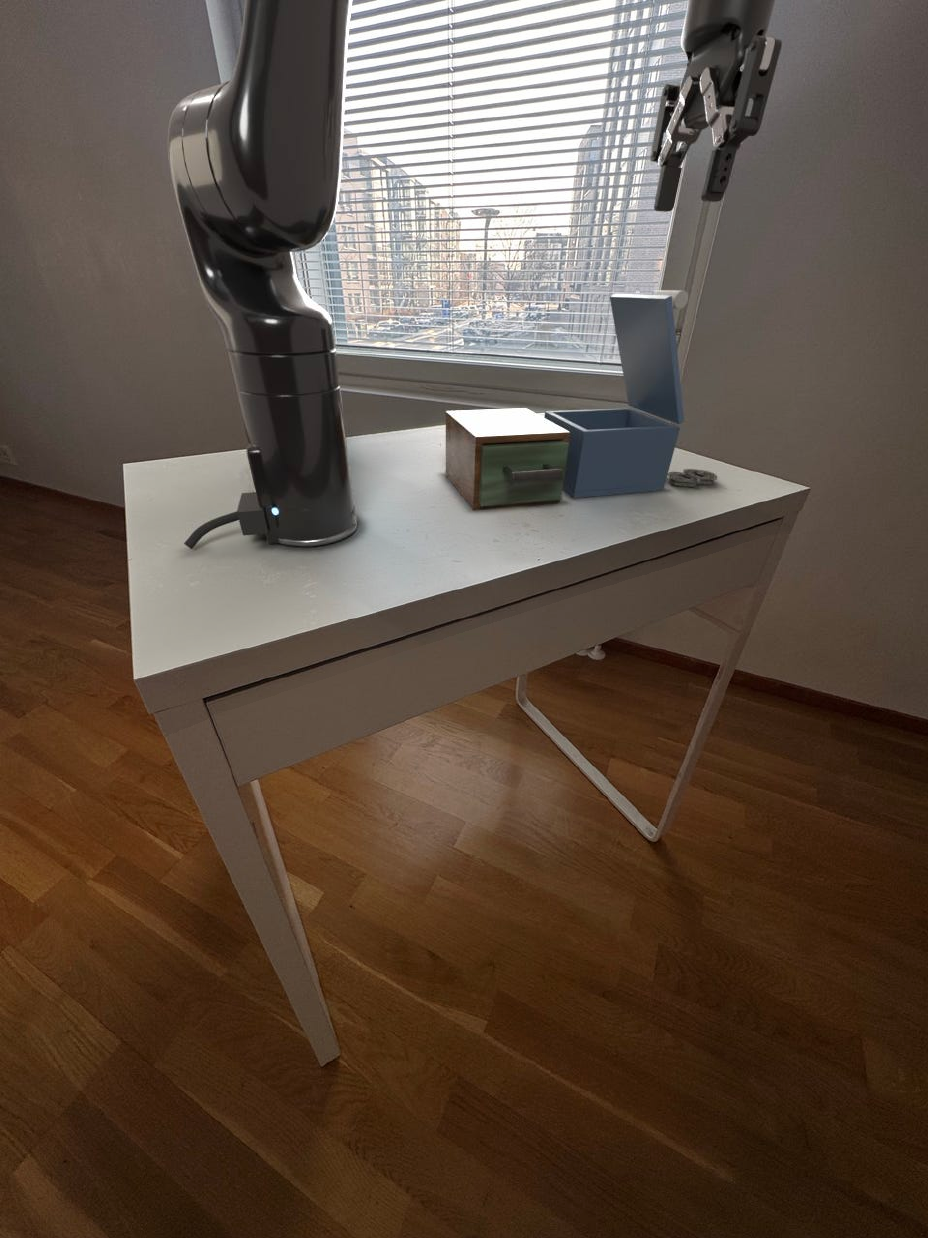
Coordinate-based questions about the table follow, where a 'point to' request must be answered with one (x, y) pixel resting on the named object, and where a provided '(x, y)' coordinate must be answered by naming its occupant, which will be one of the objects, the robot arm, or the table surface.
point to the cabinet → (490, 427)
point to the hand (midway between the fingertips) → (685, 206)
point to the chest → (615, 451)
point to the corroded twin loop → (691, 477)
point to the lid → (650, 351)
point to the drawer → (521, 472)
